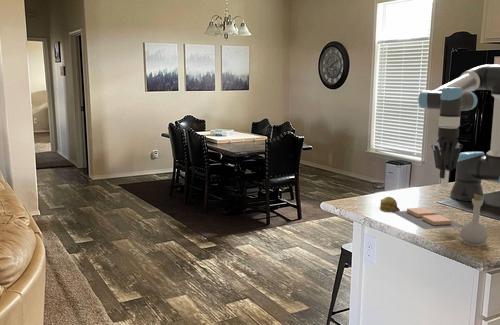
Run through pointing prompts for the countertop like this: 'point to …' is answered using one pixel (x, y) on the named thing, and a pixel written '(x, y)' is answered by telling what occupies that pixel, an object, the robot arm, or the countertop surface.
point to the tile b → (436, 219)
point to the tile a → (420, 212)
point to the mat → (423, 223)
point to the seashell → (389, 204)
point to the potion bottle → (474, 226)
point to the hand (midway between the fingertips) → (444, 186)
